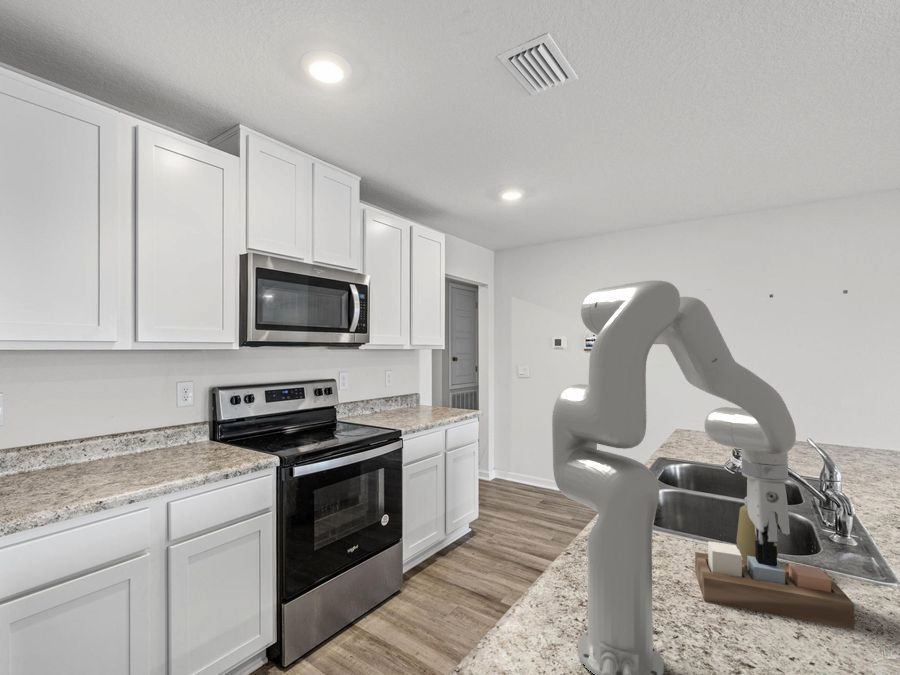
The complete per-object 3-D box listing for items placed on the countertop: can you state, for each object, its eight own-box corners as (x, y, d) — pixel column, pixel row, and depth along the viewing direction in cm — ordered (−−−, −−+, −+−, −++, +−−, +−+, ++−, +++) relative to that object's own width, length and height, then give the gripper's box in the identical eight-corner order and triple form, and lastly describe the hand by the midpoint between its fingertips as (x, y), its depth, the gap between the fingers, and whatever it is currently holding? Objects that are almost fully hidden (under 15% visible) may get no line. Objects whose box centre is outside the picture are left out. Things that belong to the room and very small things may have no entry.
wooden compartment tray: (854, 629, 77) (853, 603, 77) (704, 601, 86) (703, 577, 86) (825, 594, 88) (825, 572, 88) (695, 572, 97) (695, 551, 97)
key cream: (741, 583, 86) (741, 555, 87) (712, 577, 88) (712, 551, 89) (736, 571, 91) (735, 545, 91) (708, 566, 93) (708, 541, 93)
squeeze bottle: (738, 551, 108) (737, 476, 108) (780, 561, 102) (778, 483, 103) (734, 563, 101) (733, 484, 102) (778, 574, 96) (776, 491, 97)
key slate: (785, 600, 84) (784, 571, 84) (754, 594, 86) (753, 566, 86) (777, 587, 88) (776, 560, 89) (747, 582, 90) (747, 555, 90)
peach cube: (831, 609, 81) (830, 580, 81) (798, 603, 83) (797, 574, 83) (820, 595, 86) (819, 567, 86) (789, 590, 88) (788, 563, 88)
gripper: (801, 482, 80) (803, 585, 79) (775, 462, 93) (777, 550, 93) (751, 477, 82) (753, 577, 82) (733, 459, 96) (735, 544, 96)
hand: (766, 562), depth 87 cm, fingers closed
